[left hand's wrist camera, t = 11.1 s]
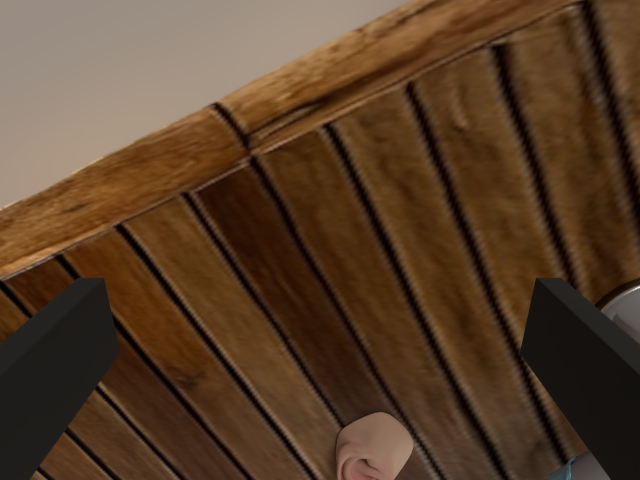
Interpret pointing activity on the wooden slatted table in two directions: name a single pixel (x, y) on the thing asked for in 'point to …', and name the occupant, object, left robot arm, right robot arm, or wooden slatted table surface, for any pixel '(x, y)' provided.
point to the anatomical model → (372, 448)
